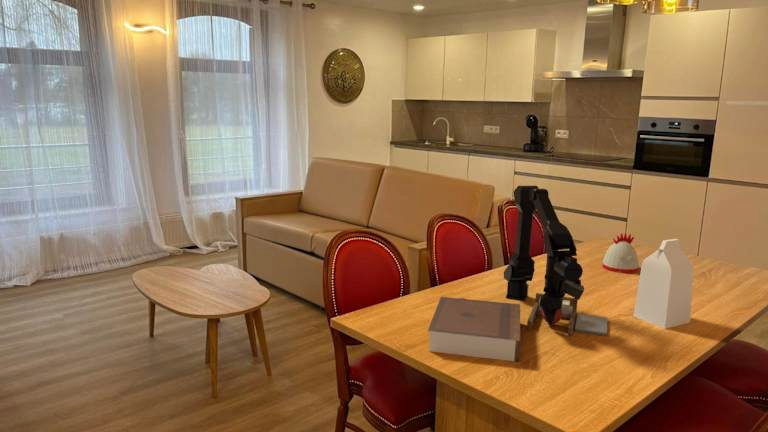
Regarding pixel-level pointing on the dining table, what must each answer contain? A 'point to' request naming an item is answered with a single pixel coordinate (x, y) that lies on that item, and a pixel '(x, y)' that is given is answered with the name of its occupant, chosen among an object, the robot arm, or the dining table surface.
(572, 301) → the rack
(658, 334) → the dining table surface
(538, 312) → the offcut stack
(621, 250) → the knit hat
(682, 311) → the milk
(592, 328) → the slate board
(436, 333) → the book
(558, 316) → the onion
